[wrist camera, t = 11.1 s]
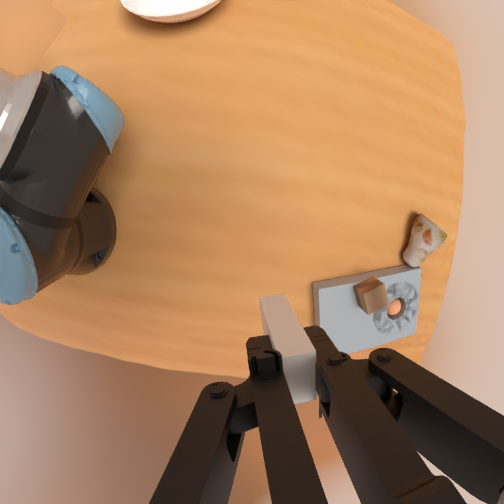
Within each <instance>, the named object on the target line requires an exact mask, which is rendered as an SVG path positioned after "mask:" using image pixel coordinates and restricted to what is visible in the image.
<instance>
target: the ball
mask: <svg viewBox="0 0 504 504" xmlns="http://www.w3.org/2000/svg"><path fill="white" fill-rule="evenodd" d="M400 309H401V302H400V300H399V299H398V298H395V299H394V300H393V301H392V302H391V303H390V304H389V306H388V308H387V314H389V315H396V314H397V313H398V312H399V311H400Z"/></svg>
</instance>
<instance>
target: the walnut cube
mask: <svg viewBox="0 0 504 504" xmlns="http://www.w3.org/2000/svg"><path fill="white" fill-rule="evenodd" d="M353 289H354V292H355V296H356V300H357V304H358V306H359V307H360V308H361V309H362V310H363V311H364V312H365V313H366V314H367V315H370V314H372V313H374V312H376V311H378V310H379V309H381V308H383V307H385V306H387V305H389V304H388V298H387V294H386V289H385V284H384V283H383V282H381V281H380V280H378V279H376V278H375V277H373V276H372V277H370V278H368V279H366V280H364V281H362V282H360V283H358V284H356V285H354V286H353Z"/></svg>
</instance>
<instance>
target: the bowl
mask: <svg viewBox="0 0 504 504" xmlns="http://www.w3.org/2000/svg"><path fill="white" fill-rule="evenodd" d="M120 1H121V3H122V5H123V6H124V7H125V8H126V9H127V10H128V11H130V12H132V13H134V14H136V15H138V16H140V17H142V18H144V19H147V20H151V21H157V22H164V23H178V22H184V21H187V20H191V19H194V18H196V17H199V16H201V15H202V14H204V13H206V12H207V11H209V10H210V9H211V8H213V7H214V6H215V5H217V4H218V3H219V2H220V1H221V0H120Z"/></svg>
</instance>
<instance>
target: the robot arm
mask: <svg viewBox="0 0 504 504" xmlns="http://www.w3.org/2000/svg"><path fill="white" fill-rule="evenodd" d="M123 127H124V116H123V113H122V111H121V110H120V108H119V107H118V106H117V105H116V104H115V103H114V102H113V101H112V100H111V99H110V98H109V97H108V96H107V95H106V94H105V93H104V92H103V91H101V90H100V89H99V88H98V87H96V86H95V85H94V84H93V83H91V82H90V81H88V80H87V79H84V78H82V76H80V75H79V74H77V73H76V72H75V71H73V70H71V69H70V68H67V67H65V66H57V67H56V68H55V69H53V70H51V72H50V74H47V73H45V72H43V71H41V70H39V69H37V70H34V71H32V72H29V73H27V74H25V75H22V76H16V75H14V74H12V73H9V72H7V71H5V70H3V69H1V68H0V302H1V303H4V304H8V305H14V304H18V303H20V302H22V301H24V300H26V299H30V298H32V297H33V296H35V294H36V293H37V292H39V291H40V290H42V289H44V288H45V287H47V286H48V285H50V284H52V283H53V282H55V281H56V280H58V279H60V278H61V277H63V276H65V275H66V274H68V275H83V274H87V273H90V272H92V271H94V270H95V269H97V268H98V267H100V266H101V265H102V264H104V263H105V261H106V260H107V259H108V258H109V256H110V254H111V252H112V250H113V247H114V244H115V239H116V222H115V217H114V214H113V211H112V208H111V206H110V204H109V203H108V201H107V200H106V198H105V197H104V196H103V195H102V194H101V193H100V192H98V191H97V190H95V189H94V188H92V186H93V184H94V182H95V180H96V178H97V176H98V174H99V172H100V170H101V168H102V166H103V164H104V162H105V160H106V159H107V157H108V155H111V153H112V151H113V146H114V144H115V142H116V141H117V139H118V137H119V135H120V133H121V131H122V130H123ZM259 300H260V308H261V316H262V324H263V332H264V336H257V337H251V338H249V339H248V341H247V342H246V348H247V355H248V364H249V370H250V376H249V378H248V379H247V380H246V381H245V382H243V383H242V384H239V385H237V386H234V387H233V385H231V384H229V383H227V382H215V383H212V384H209V385H207V386H206V387H205V388H204V389H203V390H202V392H201V394H200V396H199V398H198V400H197V402H196V405H195V407H194V409H193V411H192V413H191V416H190V418H189V420H188V422H187V424H186V426H185V429H184V431H183V433H182V435H181V437H180V439H179V441H178V444H177V446H176V448H175V450H174V452H173V454H172V456H171V458H170V460H169V463H168V465H167V467H166V469H165V471H164V473H163V475H162V477H161V480H160V482H159V484H158V486H157V488H156V490H155V492H154V494H153V497H152V499H151V500H150V503H149V504H228V500H229V496H230V493H231V489H232V485H233V480H234V477H235V473H236V469H237V465H238V460H239V457H240V453H241V448H242V444H243V440H244V436H245V432H246V431H248V430H251V429H253V428H256V427H258V426H259V432H260V438H261V444H262V449H263V456H264V461H265V467H266V473H267V478H268V484H269V490H270V495H271V500H272V504H328V502H327V499H326V496H325V493H324V490H323V488H322V485H321V482H320V479H319V476H318V473H317V470H316V467H315V464H314V461H313V458H312V455H311V452H310V449H309V447H308V444H307V440H306V438H305V435H304V432H303V429H302V426H301V423H300V420H299V417H298V414H297V411H296V408H295V405H294V404H298V403H302V402H307V401H312V400H316V391H317V393H318V396H319V418H321V417H322V414H323V416H324V418H325V421H326V423H327V425H328V427H329V430H330V432H331V434H332V437H333V439H334V441H335V444H336V446H337V448H338V451H339V453H340V455H341V458H342V460H343V462H344V465H345V467H346V469H347V471H348V474H349V476H350V479H351V481H352V483H353V486H354V488H355V490H356V492H357V495H358V497H359V499H360V502H361V504H467V503H466V502H465V501H464V499H463V498H462V496H461V495H460V493H459V492H458V490H457V489H456V488H455V486H454V485H453V483H452V482H451V481H450V480H449V479H448V478H447V477H445V476H435V475H433V474H432V473H431V472H430V470H429V469H428V467H427V466H426V464H425V463H424V461H423V460H422V458H421V457H420V455H419V454H418V453H417V451H418V452H419V453H420V454H421V455H422V456H424V457H425V458H426V459H427V460H429V461H430V462H431V463H432V464H433V465H435V466H436V467H437V468H438V469H439V470H441V471H442V472H443V473H444V474H446V475H447V476H448V477H449V478H451V479H452V480H453V481H455V482H456V483H457V484H458V485H460V486H461V487H462V488H464V489H465V490H466V491H468V492H469V493H470V494H471V495H473V496H475V497H476V498H477V499H479V500H481V501H483V502H485V503H487V504H504V416H503V415H501V414H500V413H498V412H496V411H495V410H493V409H491V408H489V407H488V406H486V405H484V404H483V403H481V402H479V401H478V400H476V399H474V398H473V397H471V396H469V395H468V394H466V393H464V392H463V391H461V390H459V389H458V388H456V387H454V386H453V385H451V384H449V383H448V382H446V381H444V380H443V379H441V378H439V377H438V376H436V375H434V374H433V373H431V372H429V371H428V370H426V369H424V368H423V367H421V366H420V365H418V364H416V363H415V362H413V361H411V360H410V359H408V358H406V357H405V356H403V355H402V354H400V353H398V352H397V351H395V350H393V349H390V348H379V349H376V350H374V351H372V352H371V353H370V355H369V359H361V360H354V359H351V357H350V356H349V355H348V354H347V353H344V352H340V351H338V349H337V348H336V346H335V345H334V343H333V342H332V340H331V339H330V338H329V336H328V335H327V333H326V332H325V330H324V329H323V328H321V327H319V326H317V325H315V326H310V327H305V328H303V327H302V325H301V323H300V321H299V320H298V318H297V316H296V314H295V312H294V311H293V309H292V307H291V305H290V304H289V302H288V300H287V298H286V297H285V295H284V294H278V295H272V296H266V297H259ZM393 388H394V389H395V390H396V391H398V393H396V392H394V391H393Z"/></svg>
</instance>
